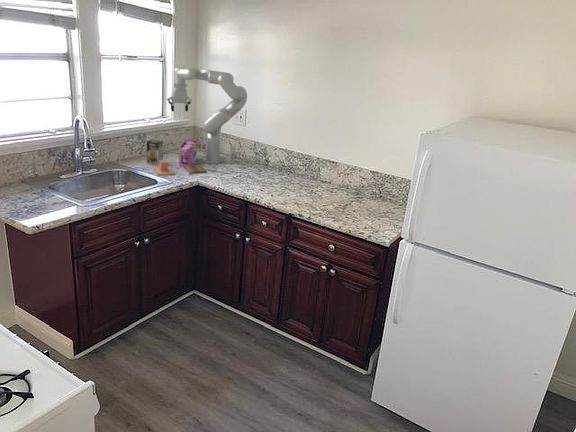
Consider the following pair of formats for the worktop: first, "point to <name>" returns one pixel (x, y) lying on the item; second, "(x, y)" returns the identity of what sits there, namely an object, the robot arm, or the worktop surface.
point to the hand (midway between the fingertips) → (179, 111)
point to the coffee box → (154, 152)
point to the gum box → (187, 153)
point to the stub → (163, 169)
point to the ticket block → (195, 169)
